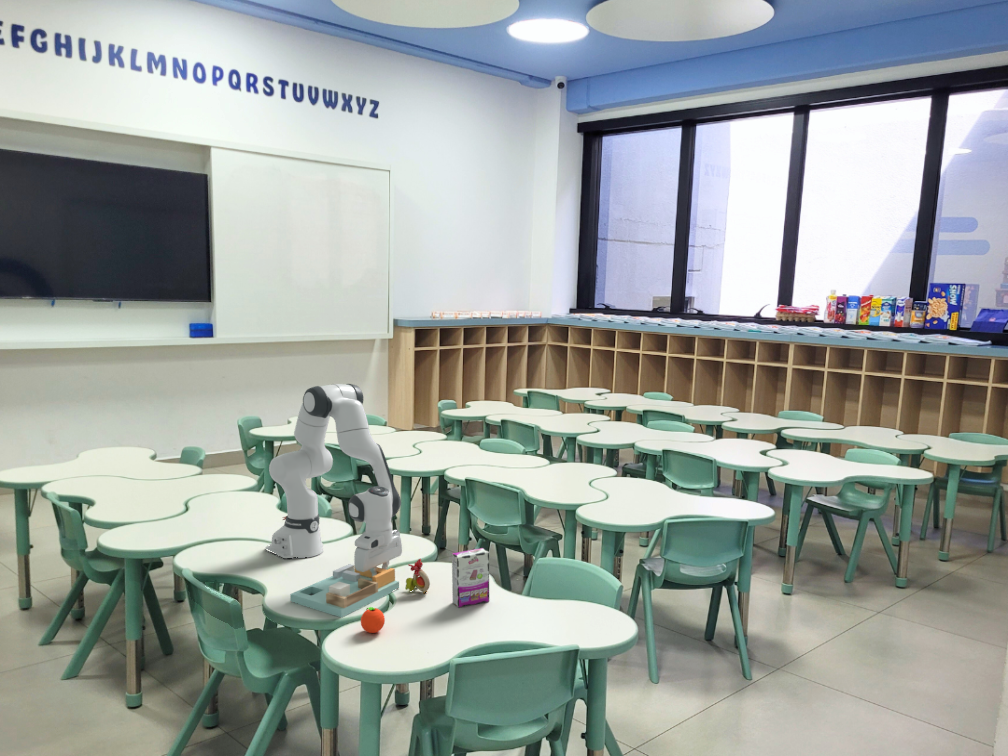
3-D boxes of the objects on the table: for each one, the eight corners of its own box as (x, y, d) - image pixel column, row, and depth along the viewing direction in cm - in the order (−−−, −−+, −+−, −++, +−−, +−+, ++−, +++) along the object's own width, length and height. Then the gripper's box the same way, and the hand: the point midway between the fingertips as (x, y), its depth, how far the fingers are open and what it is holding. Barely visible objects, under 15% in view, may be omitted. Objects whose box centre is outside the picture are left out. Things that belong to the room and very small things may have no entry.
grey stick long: (342, 578, 257) (342, 572, 257) (347, 576, 259) (346, 570, 259) (355, 582, 254) (355, 575, 254) (360, 580, 256) (360, 573, 256)
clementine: (355, 629, 225) (354, 605, 224) (376, 623, 229) (376, 600, 228) (367, 639, 218) (366, 615, 218) (389, 633, 222) (388, 609, 222)
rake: (340, 579, 256) (340, 567, 256) (359, 571, 264) (359, 559, 263) (376, 589, 248) (376, 577, 247) (394, 580, 256) (394, 568, 255)
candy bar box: (482, 596, 250) (483, 547, 248) (489, 601, 245) (490, 552, 244) (451, 602, 245) (451, 552, 243) (457, 608, 240) (457, 557, 238)
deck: (290, 601, 244) (290, 594, 244) (349, 575, 267) (349, 568, 267) (341, 617, 233) (341, 609, 232) (399, 588, 255) (399, 581, 255)
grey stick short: (332, 577, 258) (332, 571, 258) (349, 570, 265) (349, 564, 265) (337, 578, 257) (337, 572, 257) (354, 571, 264) (354, 565, 264)
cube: (329, 600, 239) (328, 586, 239) (339, 595, 243) (339, 581, 243) (339, 603, 237) (339, 589, 237) (350, 598, 241) (349, 584, 240)
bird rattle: (431, 596, 255) (413, 579, 259) (441, 569, 251) (422, 553, 256) (418, 602, 250) (399, 585, 254) (428, 575, 246) (409, 558, 251)
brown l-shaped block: (326, 602, 237) (326, 593, 237) (360, 586, 250) (360, 577, 250) (344, 608, 233) (344, 598, 233) (378, 591, 246) (378, 582, 246)
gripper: (392, 526, 266) (392, 565, 268) (350, 542, 249) (351, 583, 251) (406, 529, 263) (406, 568, 265) (365, 546, 246) (365, 587, 247)
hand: (379, 576), depth 257 cm, fingers closed on rake, 3 cm apart
